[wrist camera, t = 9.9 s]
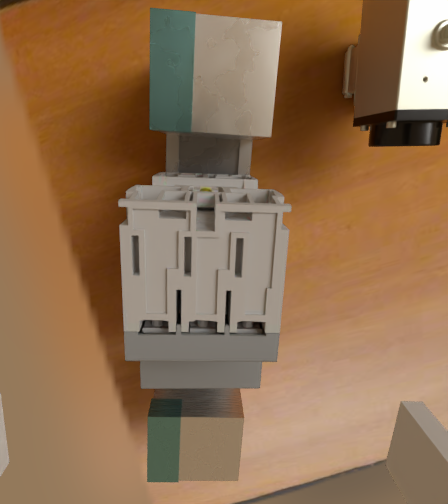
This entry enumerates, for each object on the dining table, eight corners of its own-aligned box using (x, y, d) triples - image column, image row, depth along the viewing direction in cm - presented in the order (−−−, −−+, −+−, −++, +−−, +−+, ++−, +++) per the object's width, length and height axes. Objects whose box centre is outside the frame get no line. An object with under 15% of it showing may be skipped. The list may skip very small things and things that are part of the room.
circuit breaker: (161, 326, 33) (129, 461, 19) (160, 171, 30) (117, 194, 15) (241, 327, 34) (267, 459, 20) (250, 175, 30) (292, 200, 16)
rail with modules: (169, 57, 29) (150, 7, 19) (255, 64, 29) (282, 20, 19) (162, 392, 38) (147, 482, 28) (229, 393, 38) (238, 482, 28)
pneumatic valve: (330, 147, 32) (401, 146, 20) (339, -7, 28) (431, -112, 17) (390, 145, 32) (496, 144, 20) (407, -6, 29) (543, -111, 17)
